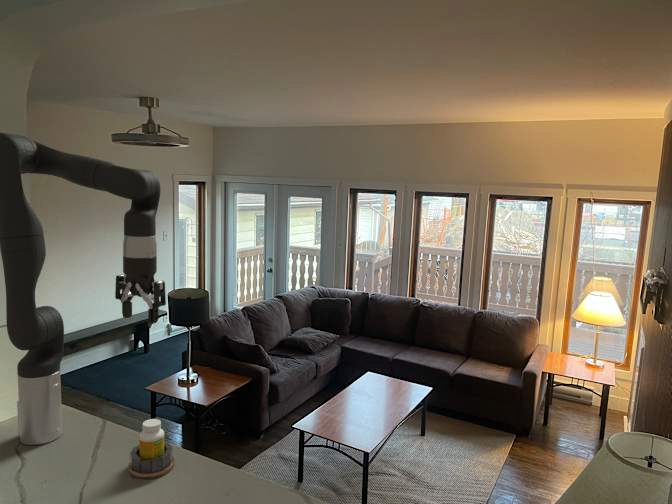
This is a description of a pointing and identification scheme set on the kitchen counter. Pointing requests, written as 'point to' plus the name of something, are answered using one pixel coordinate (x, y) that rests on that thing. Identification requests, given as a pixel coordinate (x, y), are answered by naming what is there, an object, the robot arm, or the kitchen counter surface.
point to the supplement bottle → (151, 439)
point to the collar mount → (150, 464)
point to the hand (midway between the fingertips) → (140, 320)
